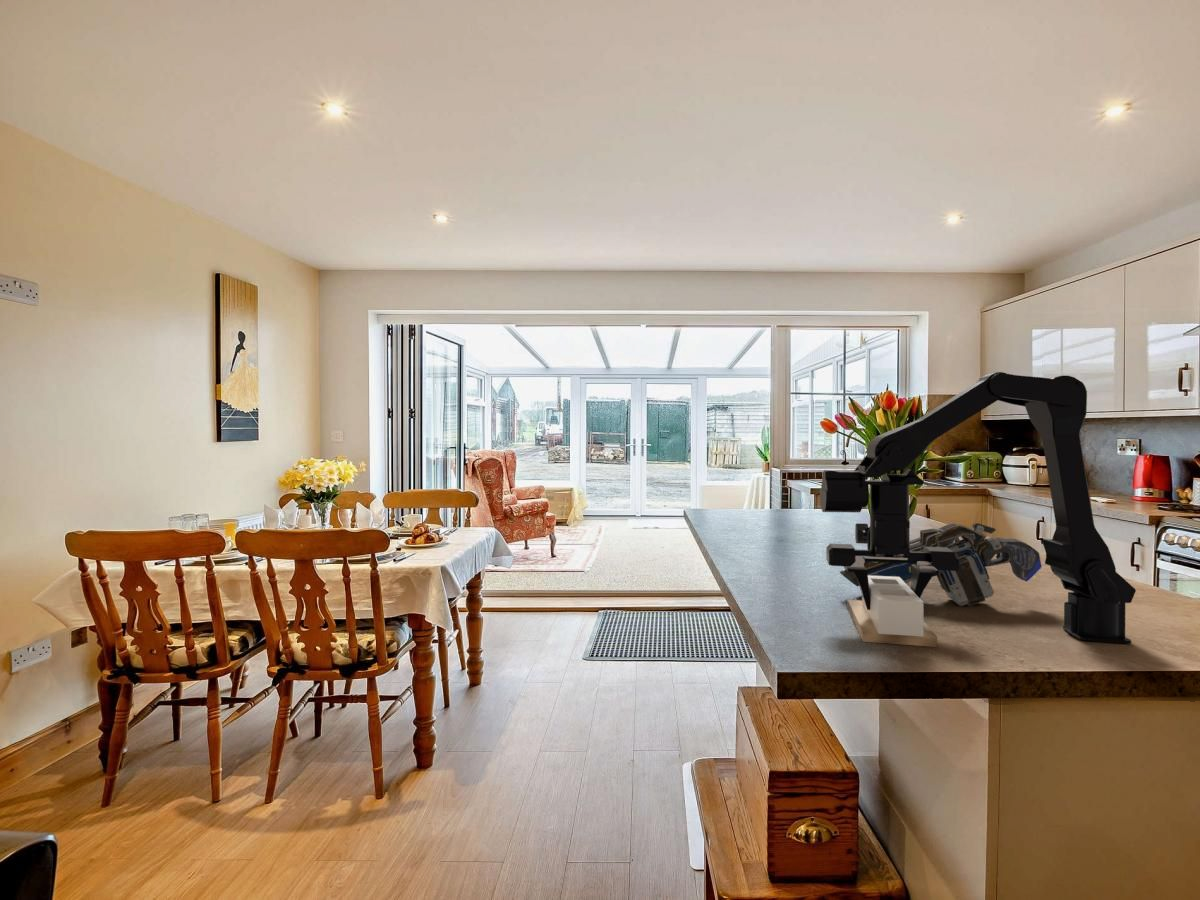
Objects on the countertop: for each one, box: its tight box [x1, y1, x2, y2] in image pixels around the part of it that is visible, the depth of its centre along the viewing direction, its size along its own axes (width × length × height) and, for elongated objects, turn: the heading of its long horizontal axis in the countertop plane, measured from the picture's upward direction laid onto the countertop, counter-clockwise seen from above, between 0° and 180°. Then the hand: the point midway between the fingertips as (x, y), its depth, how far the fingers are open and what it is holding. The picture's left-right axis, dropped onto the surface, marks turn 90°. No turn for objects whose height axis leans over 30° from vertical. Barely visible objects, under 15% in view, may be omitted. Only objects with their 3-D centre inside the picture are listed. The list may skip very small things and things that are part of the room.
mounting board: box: [846, 599, 938, 648], centre depth 103 cm, size 10×20×5 cm, turn 165°
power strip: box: [861, 575, 924, 637], centre depth 101 cm, size 18×6×5 cm, turn 165°
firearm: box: [839, 521, 1042, 607], centre depth 118 cm, size 8×33×15 cm, turn 77°
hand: (889, 610), depth 101 cm, fingers closed on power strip, 6 cm apart
